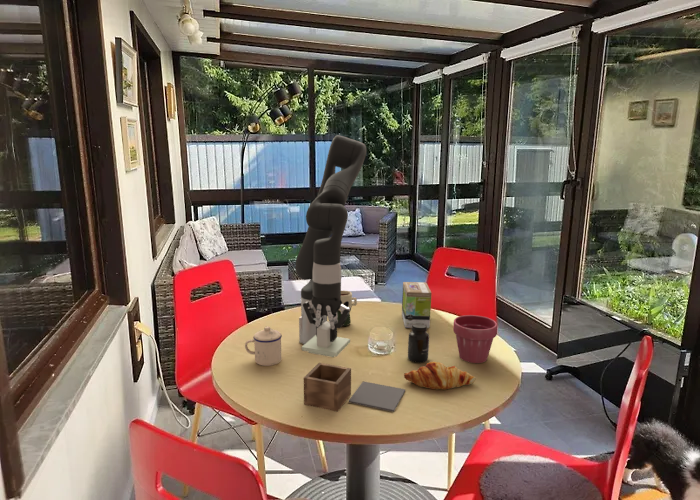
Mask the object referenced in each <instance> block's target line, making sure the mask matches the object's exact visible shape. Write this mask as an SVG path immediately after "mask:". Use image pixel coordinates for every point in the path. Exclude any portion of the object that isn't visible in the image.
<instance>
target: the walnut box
mask: <svg viewBox="0 0 700 500" xmlns="http://www.w3.org/2000/svg"><path fill="white" fill-rule="evenodd" d="M350 396H352V368H350V367H346V366H339V365H334V364H328V363H323V362H318V363H317V364H316V365H315V366H314V367H312V369H311V370H310V371H309V372H308V373H307V374H306V375H304V376H303V406H309V407H313V408H319V409H323V410H328V411H332V412H336V413H337V412H339V411H340V410H341V408H342V407H343V405H344V404H345V403H346V402H347V400H349V399H350Z"/></svg>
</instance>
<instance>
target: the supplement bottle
mask: <svg viewBox="0 0 700 500" xmlns="http://www.w3.org/2000/svg"><path fill="white" fill-rule="evenodd" d="M427 329H428V328H427V325H426V324H424V323H414V324H412V328H411V331H410V332H409V333H408V340H407V341H408V342H407V343H408V345H407V359H408V360H409V361H410V362H412V363H417V364H421V363H422V364H423V363H425V362H427V361H428V360H429V352H430V351H429V350H430V349H429V348H430V334H429V333H428V332H427Z"/></svg>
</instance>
